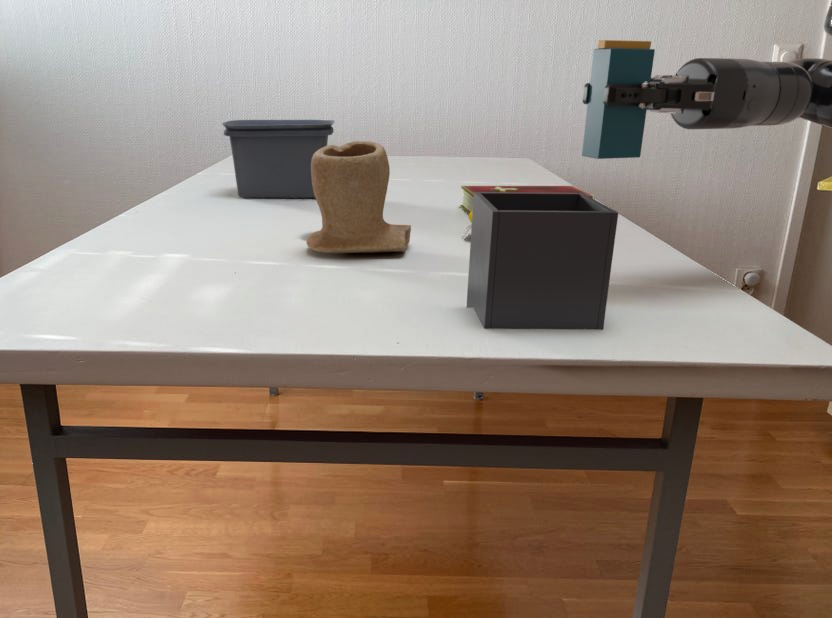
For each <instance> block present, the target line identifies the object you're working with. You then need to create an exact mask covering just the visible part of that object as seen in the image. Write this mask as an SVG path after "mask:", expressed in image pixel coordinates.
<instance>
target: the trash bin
mask: <svg viewBox="0 0 832 618" xmlns="http://www.w3.org/2000/svg"><path fill="white" fill-rule="evenodd" d="M618 219H619V212H618V211H616V210H614V209H613V208H611V207H609V206H608V205H605V204H604V203H602V202H600V201H598V200H597V199H595V200H594V199H593V198H591V197H589V196H587V195H585V194H583V193H519V192H474V199H473V214H472V229H471V232H470V245H469V247H470V248H469V259H468V260H469V262H468V278H467V293H466V296H467V297H466V306H465V307H466V308H467V309H471V308H472V309H473V310H474V312H475V313H476V316H477V317H478V320H479V321H480V323H481V325H482V327H483V329H485V330H488V329H489V330H490V329H491V330H494V329H495V330H597V331H598V330H600V331H601V330H602V331H603V330H604V325H605V318H606V312H607V311H606V309H607V303H608V294H609V288H610V280H611V272H612V264H613V263H612V262H613V256H614V249H615V244H616V243H615V242H616V234H617V227H618Z"/></svg>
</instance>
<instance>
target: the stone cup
mask: <svg viewBox="0 0 832 618" xmlns="http://www.w3.org/2000/svg"><path fill="white" fill-rule="evenodd" d="M390 170H391V169H390V164H389V158H388V155H387V151H386V149H385V147H384V146H383V145H381V144H380V143H378V142H375V141H369V140H368V141H367V140H365V141H364V140H354V141H353V140H352V141H349V142H347V143H345V144H342V145H336V144H335V145H334V144H327V146H325V147H323V148H321V149H319V150H318V151H316V152H315V153H314V155H313V157H312V160H311V176H312V186H313V191H314V195H315V200H316V204H317V206H318V208H319V211H320V212H319V213H320V215H321V225H322V226H321V229H320V230H317V231H315V232H313V233H311V234H310V235H309V236H307V238H306V243H305V244H306V245H307V247H308V248H309V249H311V250H312V251H315V252H319V253H326V254H367V253H368V254H369V253H372V254H373V253H392V252H393V253H394V252H395V253H396V252H405V251H406V250H407V247H408V246H409V244H410V241H411V231H412V225H410V224H393V223H392V224H391V223H388V222H386V221H385V220H384V208H385V203H386V197H387V193H388V187H389V181H390V175H391V174H390V173H391V171H390Z"/></svg>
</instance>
